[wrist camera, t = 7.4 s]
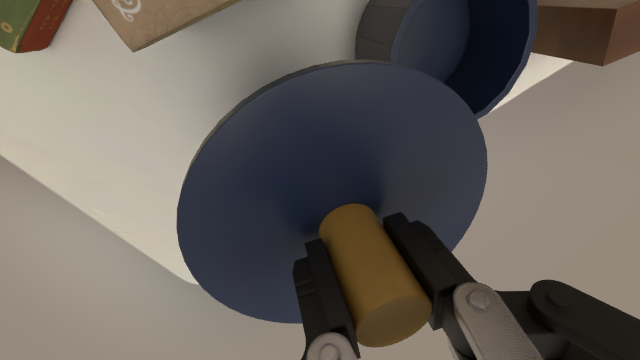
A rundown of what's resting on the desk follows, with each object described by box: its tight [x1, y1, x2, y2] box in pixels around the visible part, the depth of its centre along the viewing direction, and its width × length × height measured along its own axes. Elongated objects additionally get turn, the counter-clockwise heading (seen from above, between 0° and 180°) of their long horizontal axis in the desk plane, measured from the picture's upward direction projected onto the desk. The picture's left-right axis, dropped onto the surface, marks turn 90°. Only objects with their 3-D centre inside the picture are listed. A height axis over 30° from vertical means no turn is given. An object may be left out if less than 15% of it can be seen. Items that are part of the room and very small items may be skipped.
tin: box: [355, 0, 538, 119], centre depth 26 cm, size 12×12×8 cm
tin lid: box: [177, 59, 487, 347], centre depth 11 cm, size 13×13×6 cm
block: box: [531, 0, 640, 66], centre depth 27 cm, size 4×4×9 cm
